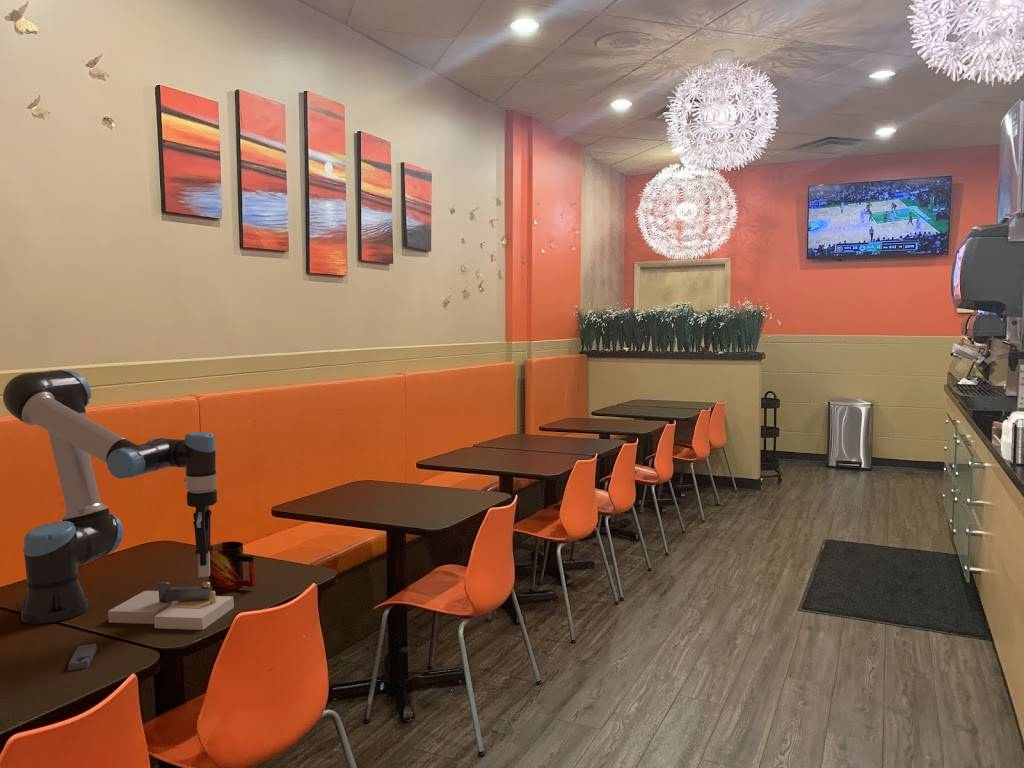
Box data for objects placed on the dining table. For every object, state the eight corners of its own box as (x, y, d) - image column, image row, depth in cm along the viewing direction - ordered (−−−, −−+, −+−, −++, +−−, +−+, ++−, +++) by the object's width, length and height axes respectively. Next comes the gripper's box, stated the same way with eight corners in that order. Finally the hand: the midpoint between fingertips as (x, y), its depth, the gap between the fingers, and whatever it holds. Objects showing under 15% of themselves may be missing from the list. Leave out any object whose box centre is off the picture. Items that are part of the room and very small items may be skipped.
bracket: (97, 651, 177) (96, 642, 177) (88, 669, 167) (87, 660, 167) (78, 654, 175) (77, 645, 175) (68, 672, 166) (67, 663, 166)
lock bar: (157, 602, 197) (156, 585, 197) (162, 598, 200) (161, 581, 200) (209, 600, 198) (208, 583, 197) (213, 596, 200) (212, 579, 200)
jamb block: (108, 622, 193) (108, 611, 193) (145, 601, 208) (144, 590, 208) (153, 623, 191) (152, 612, 191) (187, 602, 206) (186, 591, 206)
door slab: (154, 628, 189) (153, 604, 188) (188, 606, 203) (187, 584, 203) (202, 629, 187) (201, 606, 186) (233, 607, 201) (232, 585, 201)
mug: (254, 591, 214) (252, 549, 213) (204, 593, 213) (202, 551, 212) (263, 579, 224) (261, 540, 223) (215, 582, 223) (213, 542, 222)
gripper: (191, 485, 208) (194, 569, 210) (181, 496, 195) (184, 585, 197) (220, 484, 209) (222, 567, 211) (212, 494, 197) (215, 582, 199)
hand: (204, 575), depth 204 cm, fingers closed
